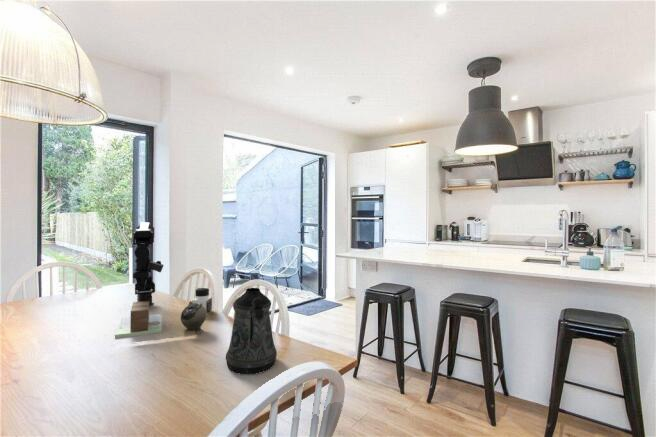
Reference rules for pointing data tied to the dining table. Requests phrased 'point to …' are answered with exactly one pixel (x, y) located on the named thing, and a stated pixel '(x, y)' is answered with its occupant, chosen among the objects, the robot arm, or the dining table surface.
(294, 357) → the dining table surface
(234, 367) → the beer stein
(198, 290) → the medicine bottle
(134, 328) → the walnut box
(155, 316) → the trap board
